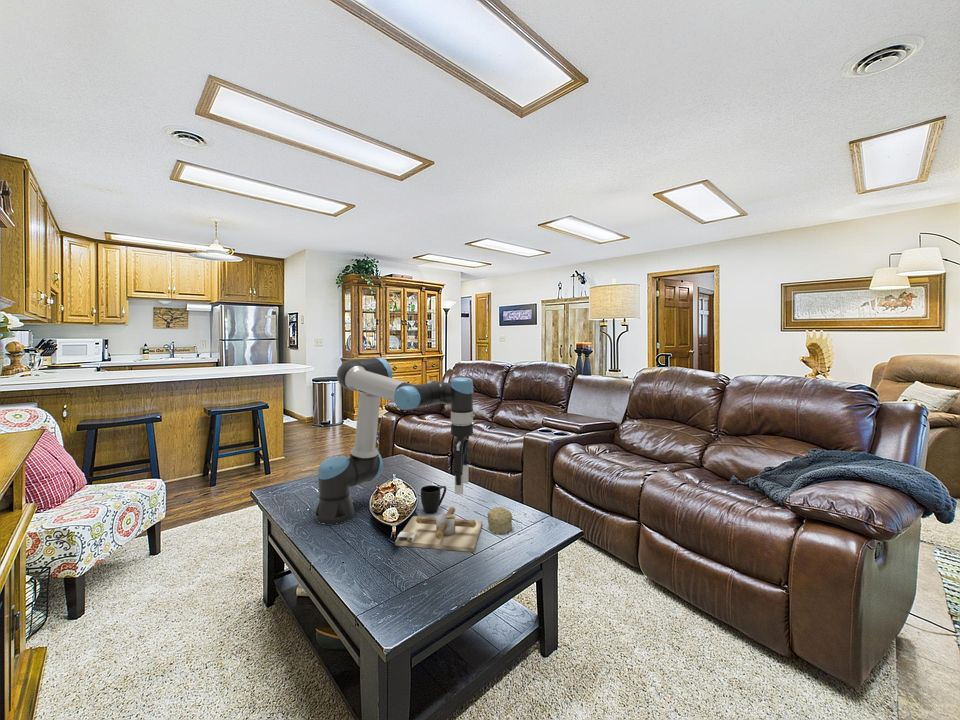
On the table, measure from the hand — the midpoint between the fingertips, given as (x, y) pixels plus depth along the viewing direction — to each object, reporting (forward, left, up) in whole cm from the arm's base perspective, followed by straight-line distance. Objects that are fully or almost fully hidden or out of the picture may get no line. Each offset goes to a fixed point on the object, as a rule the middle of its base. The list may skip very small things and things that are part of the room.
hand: (461, 488), depth 141 cm
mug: (-18, +29, -22) cm, 40 cm away
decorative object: (+11, +17, -22) cm, 30 cm away
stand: (-10, +9, -21) cm, 25 cm away
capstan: (-8, +8, -20) cm, 23 cm away
